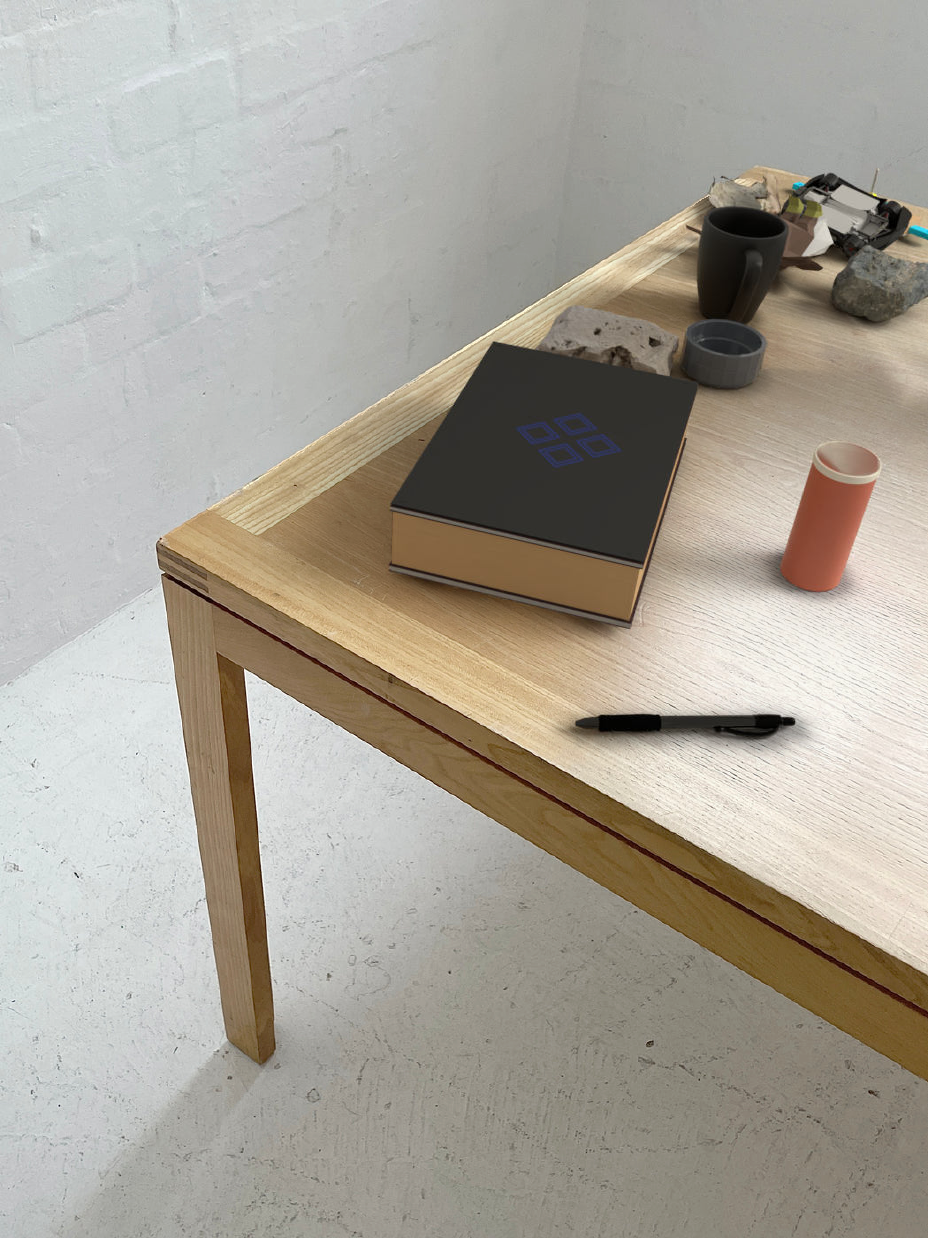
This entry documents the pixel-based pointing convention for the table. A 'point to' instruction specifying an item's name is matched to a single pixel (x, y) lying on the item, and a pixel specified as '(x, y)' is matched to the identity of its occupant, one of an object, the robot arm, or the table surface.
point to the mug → (738, 261)
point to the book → (546, 483)
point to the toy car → (854, 214)
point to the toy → (802, 235)
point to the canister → (829, 515)
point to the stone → (611, 340)
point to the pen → (689, 723)
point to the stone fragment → (747, 195)
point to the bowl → (722, 353)
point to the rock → (879, 285)
